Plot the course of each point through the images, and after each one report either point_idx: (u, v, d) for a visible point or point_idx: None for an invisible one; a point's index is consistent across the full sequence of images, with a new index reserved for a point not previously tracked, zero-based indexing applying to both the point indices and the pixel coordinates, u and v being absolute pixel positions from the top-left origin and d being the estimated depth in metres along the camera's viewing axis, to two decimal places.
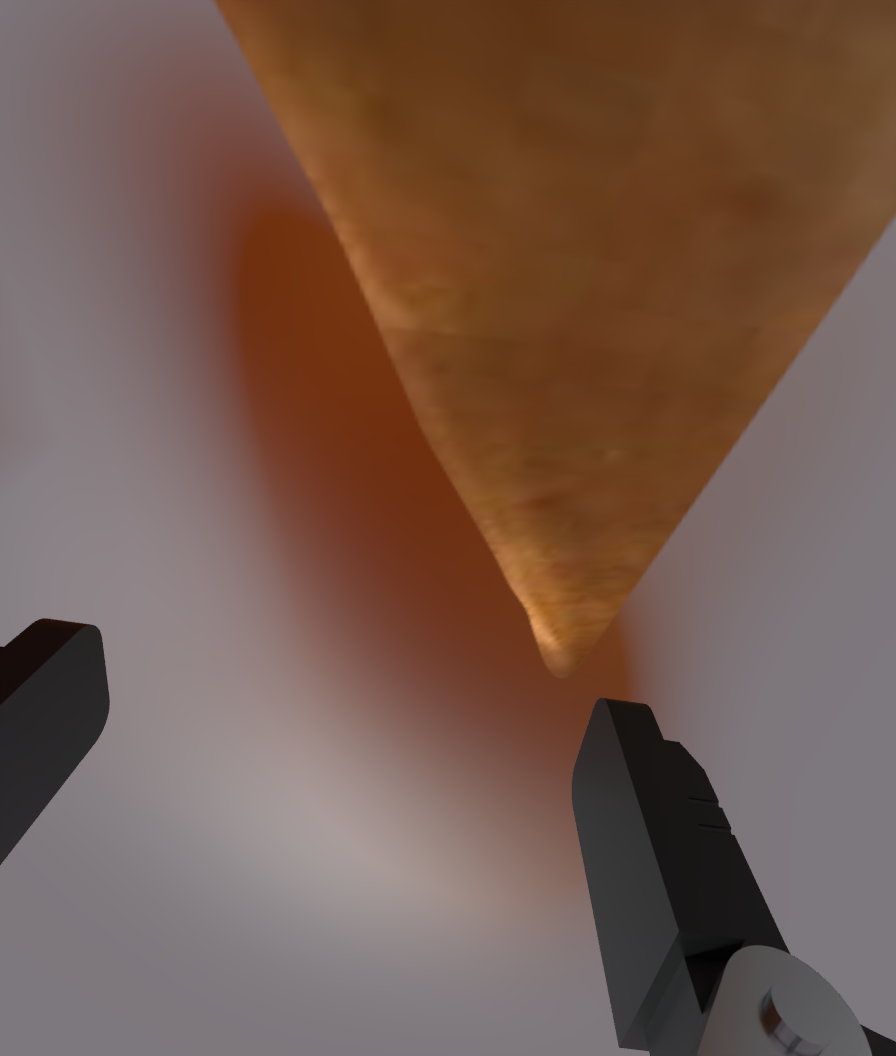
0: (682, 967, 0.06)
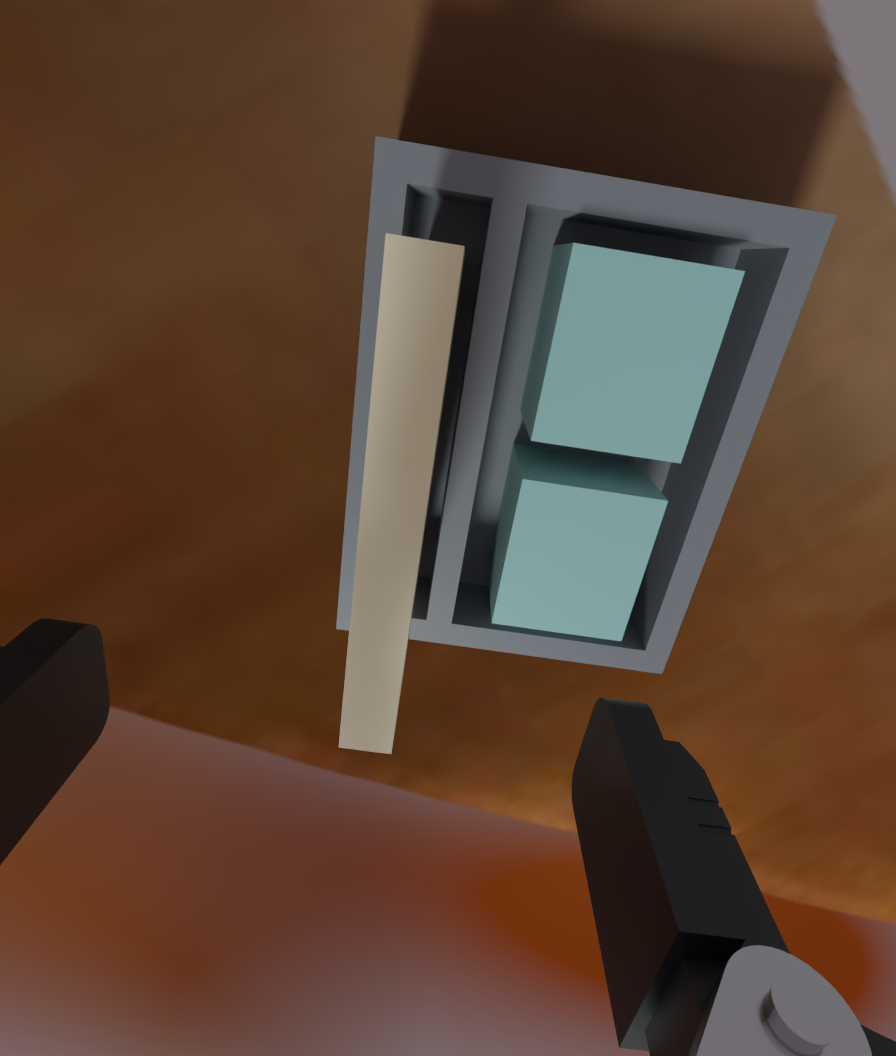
0: (683, 967, 0.06)
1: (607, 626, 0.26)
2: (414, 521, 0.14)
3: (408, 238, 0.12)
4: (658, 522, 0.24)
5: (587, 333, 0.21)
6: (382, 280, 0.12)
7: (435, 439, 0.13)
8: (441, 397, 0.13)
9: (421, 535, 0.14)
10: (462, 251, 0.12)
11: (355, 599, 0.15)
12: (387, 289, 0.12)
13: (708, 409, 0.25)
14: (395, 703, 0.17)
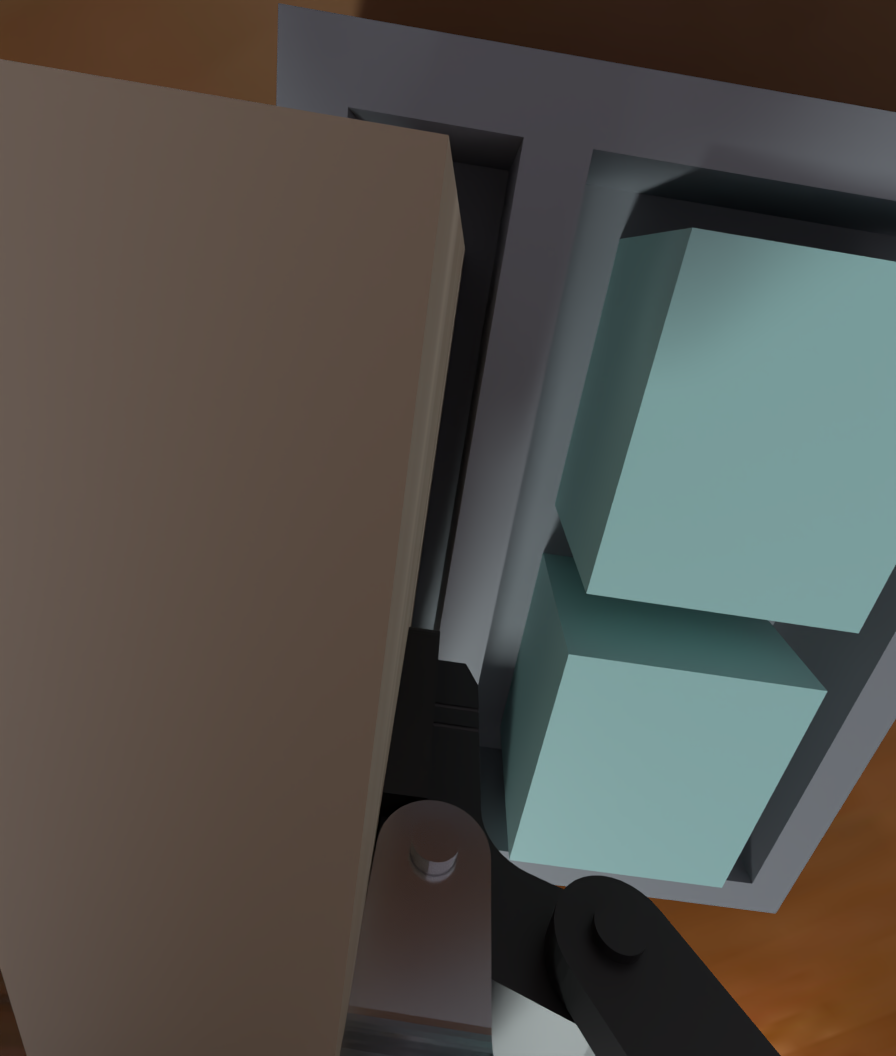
0: None
1: (701, 867, 0.16)
2: None
3: None
4: (805, 723, 0.14)
5: (706, 407, 0.11)
6: None
7: None
8: (342, 950, 0.03)
9: None
10: (431, 185, 0.01)
11: None
12: None
13: None
14: None
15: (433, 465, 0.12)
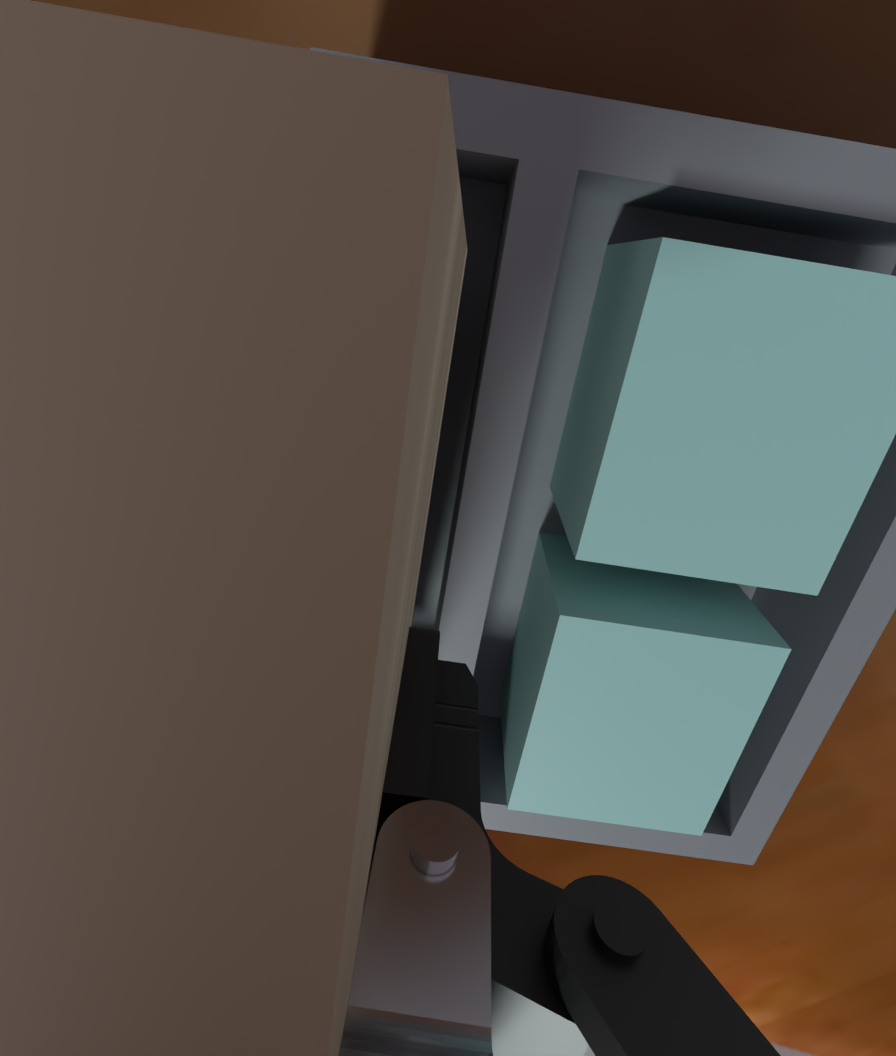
0: None
1: (681, 816, 0.17)
2: None
3: None
4: (772, 679, 0.15)
5: (678, 392, 0.12)
6: None
7: None
8: None
9: None
10: (419, 148, 0.01)
11: None
12: None
13: None
14: None
15: (433, 472, 0.12)
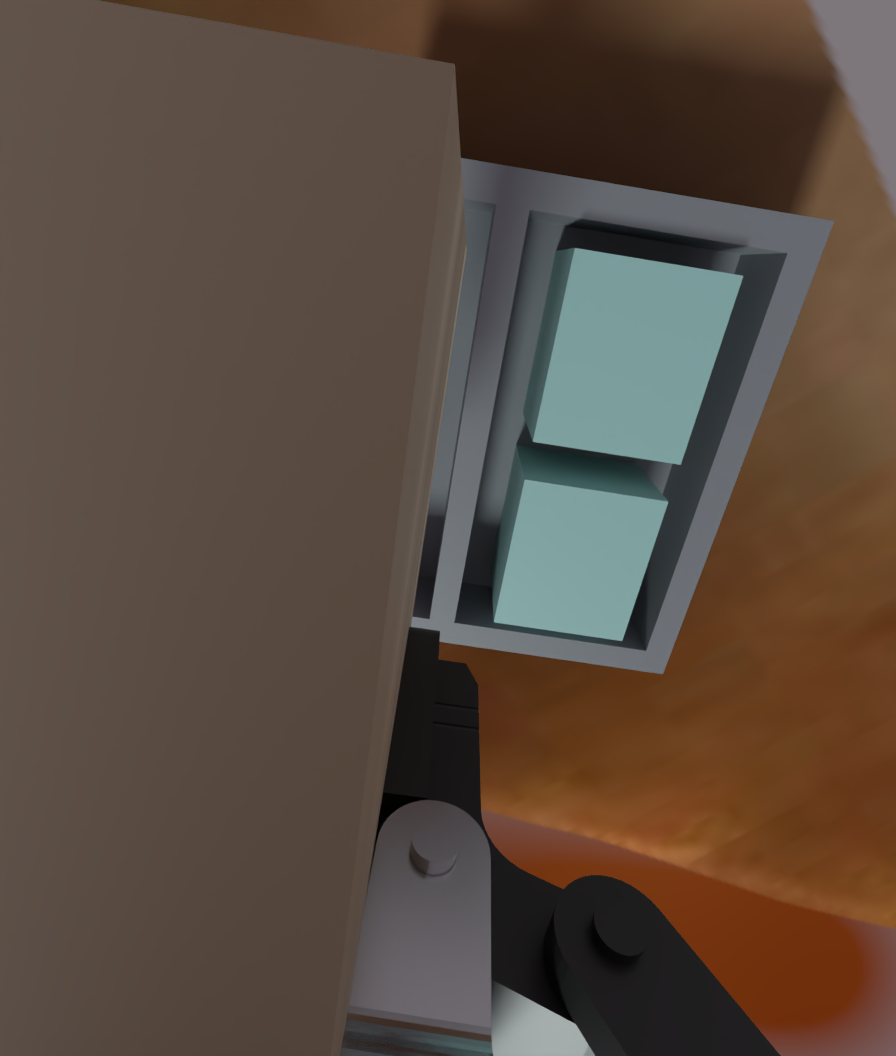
0: None
1: (608, 626, 0.26)
2: None
3: None
4: (658, 523, 0.24)
5: (588, 336, 0.21)
6: None
7: None
8: None
9: None
10: (426, 142, 0.01)
11: None
12: None
13: (708, 412, 0.25)
14: None
15: None
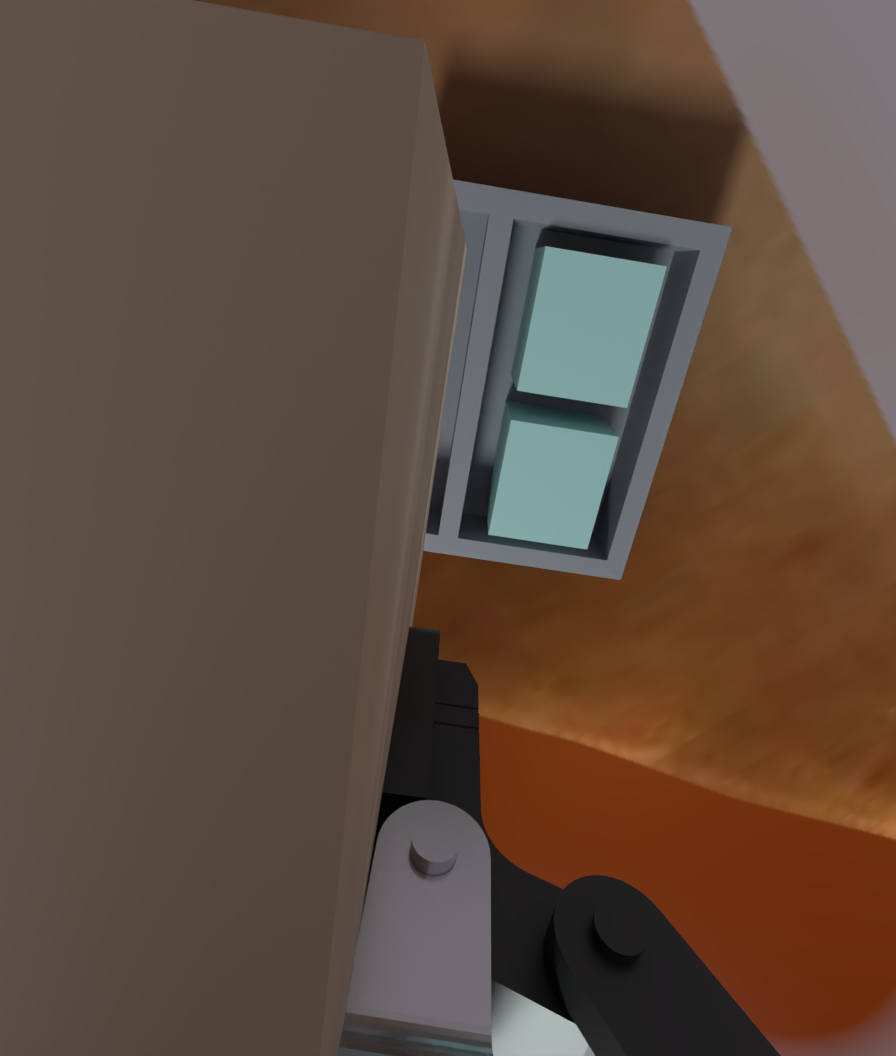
0: None
1: (576, 537, 0.34)
2: None
3: None
4: (612, 453, 0.32)
5: (556, 310, 0.29)
6: None
7: None
8: None
9: None
10: (396, 123, 0.01)
11: None
12: None
13: (651, 371, 0.33)
14: None
15: None
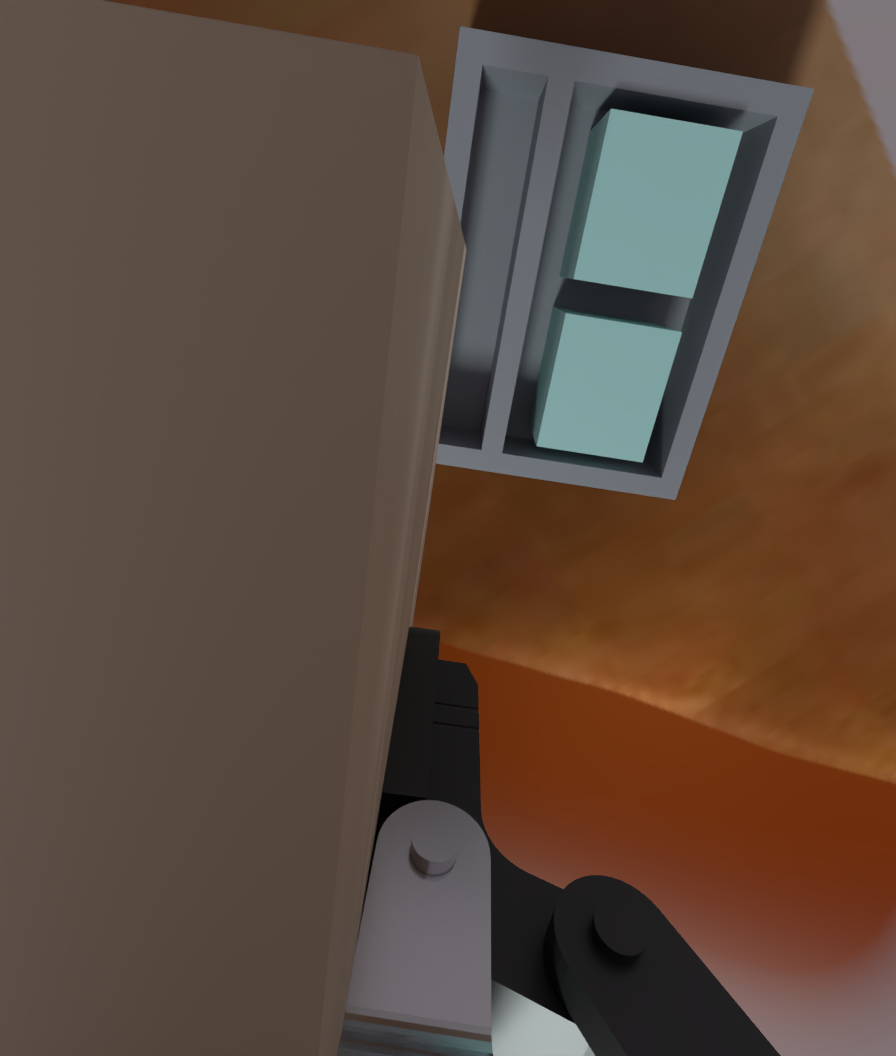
0: (382, 826, 0.07)
1: (631, 448, 0.32)
2: None
3: None
4: (674, 351, 0.30)
5: (620, 185, 0.27)
6: None
7: None
8: None
9: None
10: (390, 137, 0.01)
11: None
12: None
13: (714, 266, 0.31)
14: None
15: None
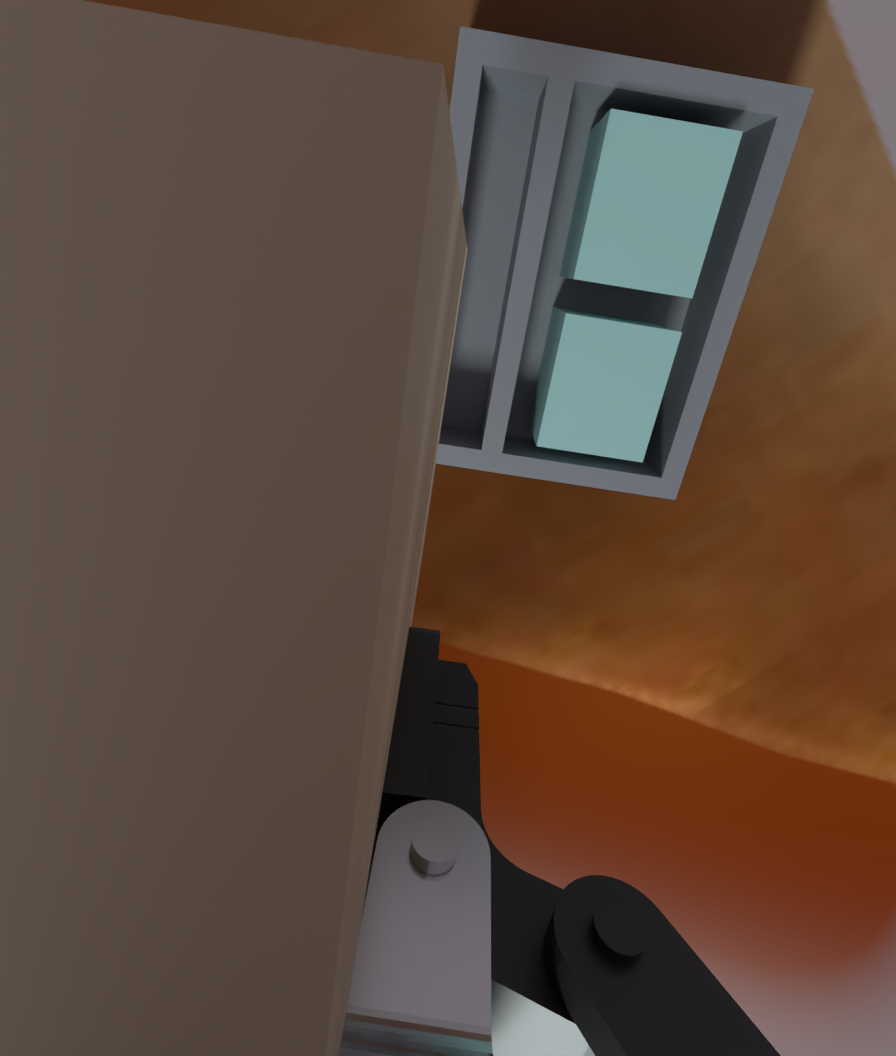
0: (382, 826, 0.07)
1: (631, 448, 0.32)
2: None
3: None
4: (674, 351, 0.30)
5: (620, 185, 0.27)
6: None
7: None
8: None
9: None
10: (411, 146, 0.01)
11: None
12: None
13: (714, 266, 0.31)
14: None
15: (433, 473, 0.12)
